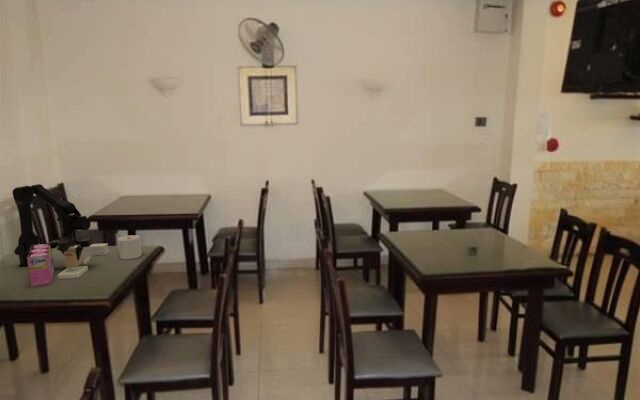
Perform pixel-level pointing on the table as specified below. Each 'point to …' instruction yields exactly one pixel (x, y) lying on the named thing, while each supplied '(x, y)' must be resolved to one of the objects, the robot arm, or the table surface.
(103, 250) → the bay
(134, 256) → the toilet tissue
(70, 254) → the tan cuboid block
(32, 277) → the gum box
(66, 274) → the tray
